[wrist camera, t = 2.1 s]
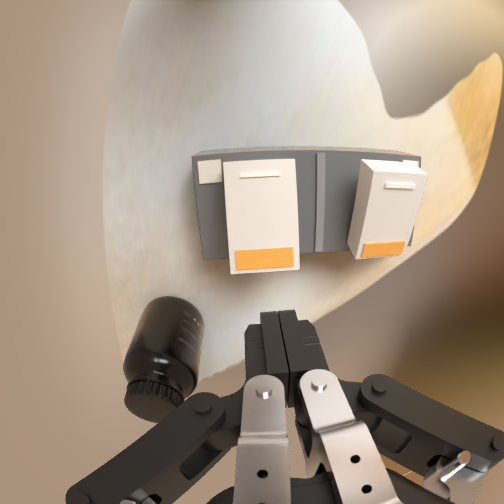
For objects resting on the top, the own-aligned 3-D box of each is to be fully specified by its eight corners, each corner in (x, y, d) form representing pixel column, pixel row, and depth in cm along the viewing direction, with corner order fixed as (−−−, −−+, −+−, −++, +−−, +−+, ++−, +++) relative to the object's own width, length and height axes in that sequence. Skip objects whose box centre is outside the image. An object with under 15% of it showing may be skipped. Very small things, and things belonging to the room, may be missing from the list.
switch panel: (199, 151, 22) (190, 156, 18) (397, 151, 22) (423, 157, 18) (208, 240, 25) (203, 261, 21) (390, 230, 25) (412, 247, 22)
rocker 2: (361, 159, 17) (374, 172, 15) (413, 162, 17) (429, 175, 15) (347, 243, 21) (355, 260, 19) (393, 240, 21) (404, 256, 19)
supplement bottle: (165, 347, 31) (144, 432, 20) (133, 304, 28) (94, 389, 17) (215, 332, 30) (208, 425, 19) (185, 284, 27) (160, 378, 16)
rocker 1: (225, 165, 18) (222, 161, 16) (289, 162, 18) (295, 158, 16) (232, 266, 20) (230, 274, 17) (294, 262, 20) (300, 270, 17)
